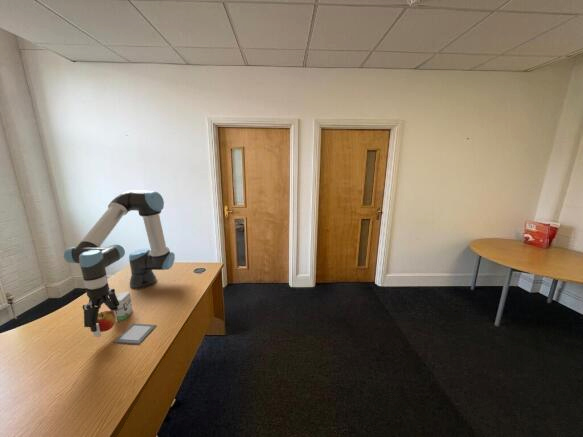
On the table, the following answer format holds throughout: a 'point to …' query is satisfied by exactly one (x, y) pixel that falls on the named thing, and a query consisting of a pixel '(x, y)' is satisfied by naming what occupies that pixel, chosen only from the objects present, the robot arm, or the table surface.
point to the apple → (106, 320)
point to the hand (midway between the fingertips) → (106, 328)
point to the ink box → (123, 305)
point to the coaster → (135, 334)
